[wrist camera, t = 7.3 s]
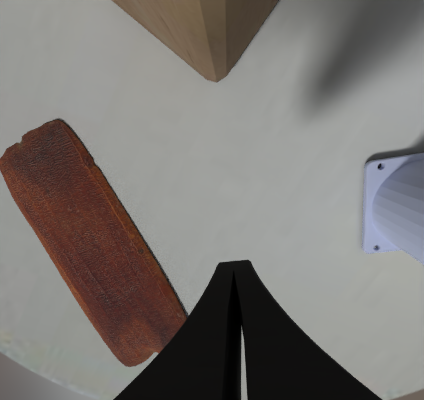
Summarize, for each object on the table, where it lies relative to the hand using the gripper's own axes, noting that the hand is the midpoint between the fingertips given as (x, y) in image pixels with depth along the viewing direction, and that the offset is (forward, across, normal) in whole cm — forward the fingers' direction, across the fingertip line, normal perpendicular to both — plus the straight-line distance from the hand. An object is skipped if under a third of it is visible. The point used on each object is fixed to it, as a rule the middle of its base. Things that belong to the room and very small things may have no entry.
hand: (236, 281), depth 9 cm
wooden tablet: (+11, +13, +4) cm, 17 cm away
